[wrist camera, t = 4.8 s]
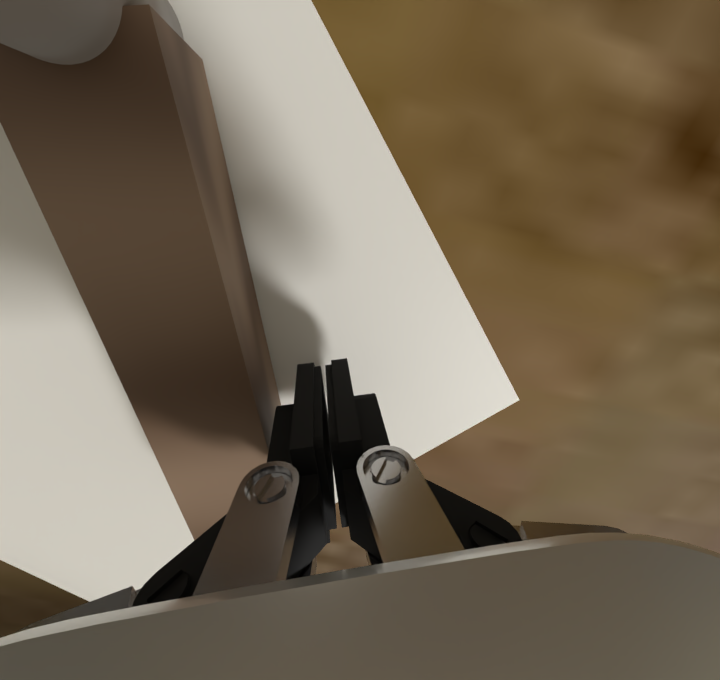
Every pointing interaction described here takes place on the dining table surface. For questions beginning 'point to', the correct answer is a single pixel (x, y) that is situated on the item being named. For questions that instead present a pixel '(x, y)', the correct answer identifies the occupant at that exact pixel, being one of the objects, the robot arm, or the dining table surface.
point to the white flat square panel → (274, 295)
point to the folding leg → (146, 228)
